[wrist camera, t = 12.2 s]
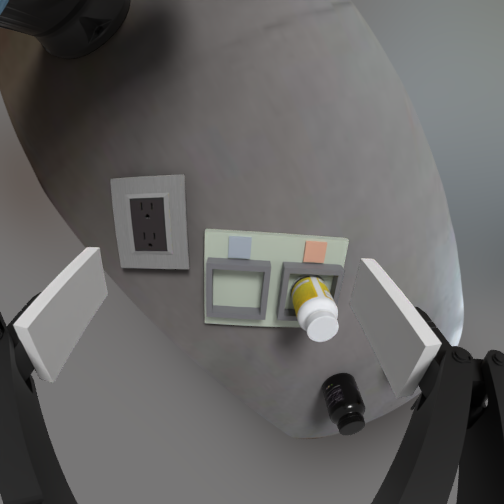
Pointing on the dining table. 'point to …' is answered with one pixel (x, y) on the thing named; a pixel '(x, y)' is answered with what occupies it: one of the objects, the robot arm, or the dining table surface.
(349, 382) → the supplement bottle
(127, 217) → the electrical outlet
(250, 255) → the tag board
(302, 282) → the supplement bottle
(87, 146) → the dining table surface
